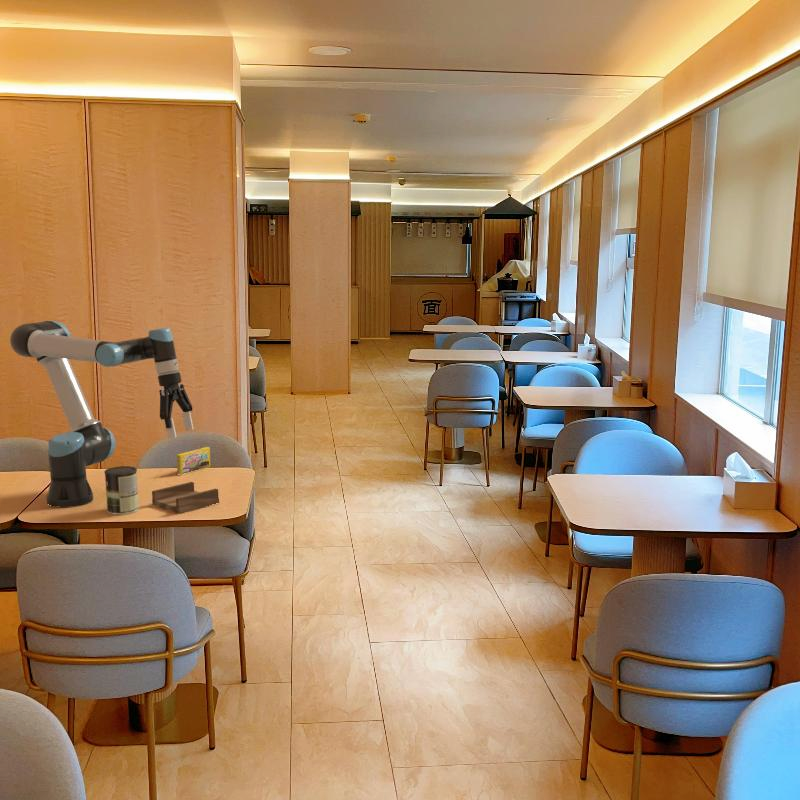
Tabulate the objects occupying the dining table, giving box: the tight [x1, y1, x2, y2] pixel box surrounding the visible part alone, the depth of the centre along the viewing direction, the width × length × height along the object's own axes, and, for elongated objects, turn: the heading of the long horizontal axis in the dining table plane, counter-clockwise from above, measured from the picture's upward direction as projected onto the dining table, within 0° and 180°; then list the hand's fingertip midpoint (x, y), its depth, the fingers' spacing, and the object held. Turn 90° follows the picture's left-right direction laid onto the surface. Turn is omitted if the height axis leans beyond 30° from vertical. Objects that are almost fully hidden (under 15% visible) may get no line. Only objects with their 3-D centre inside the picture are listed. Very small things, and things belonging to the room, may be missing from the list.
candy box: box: [176, 446, 211, 476], centre depth 355 cm, size 16×2×8 cm, turn 147°
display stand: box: [151, 481, 220, 515], centre depth 309 cm, size 16×16×5 cm
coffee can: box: [103, 465, 140, 516], centre depth 302 cm, size 10×10×14 cm
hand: (181, 433), depth 310 cm, fingers open, 13 cm apart
